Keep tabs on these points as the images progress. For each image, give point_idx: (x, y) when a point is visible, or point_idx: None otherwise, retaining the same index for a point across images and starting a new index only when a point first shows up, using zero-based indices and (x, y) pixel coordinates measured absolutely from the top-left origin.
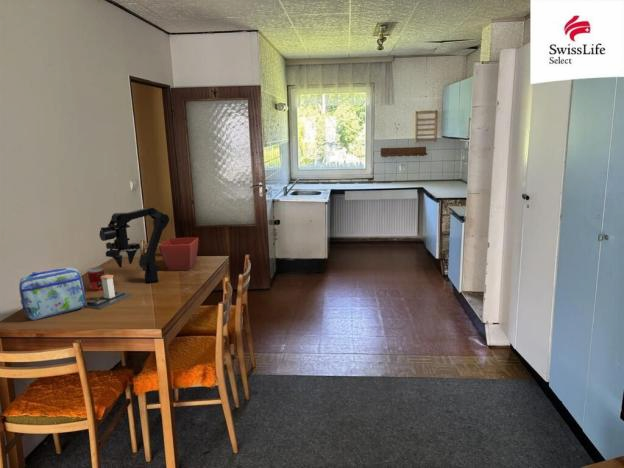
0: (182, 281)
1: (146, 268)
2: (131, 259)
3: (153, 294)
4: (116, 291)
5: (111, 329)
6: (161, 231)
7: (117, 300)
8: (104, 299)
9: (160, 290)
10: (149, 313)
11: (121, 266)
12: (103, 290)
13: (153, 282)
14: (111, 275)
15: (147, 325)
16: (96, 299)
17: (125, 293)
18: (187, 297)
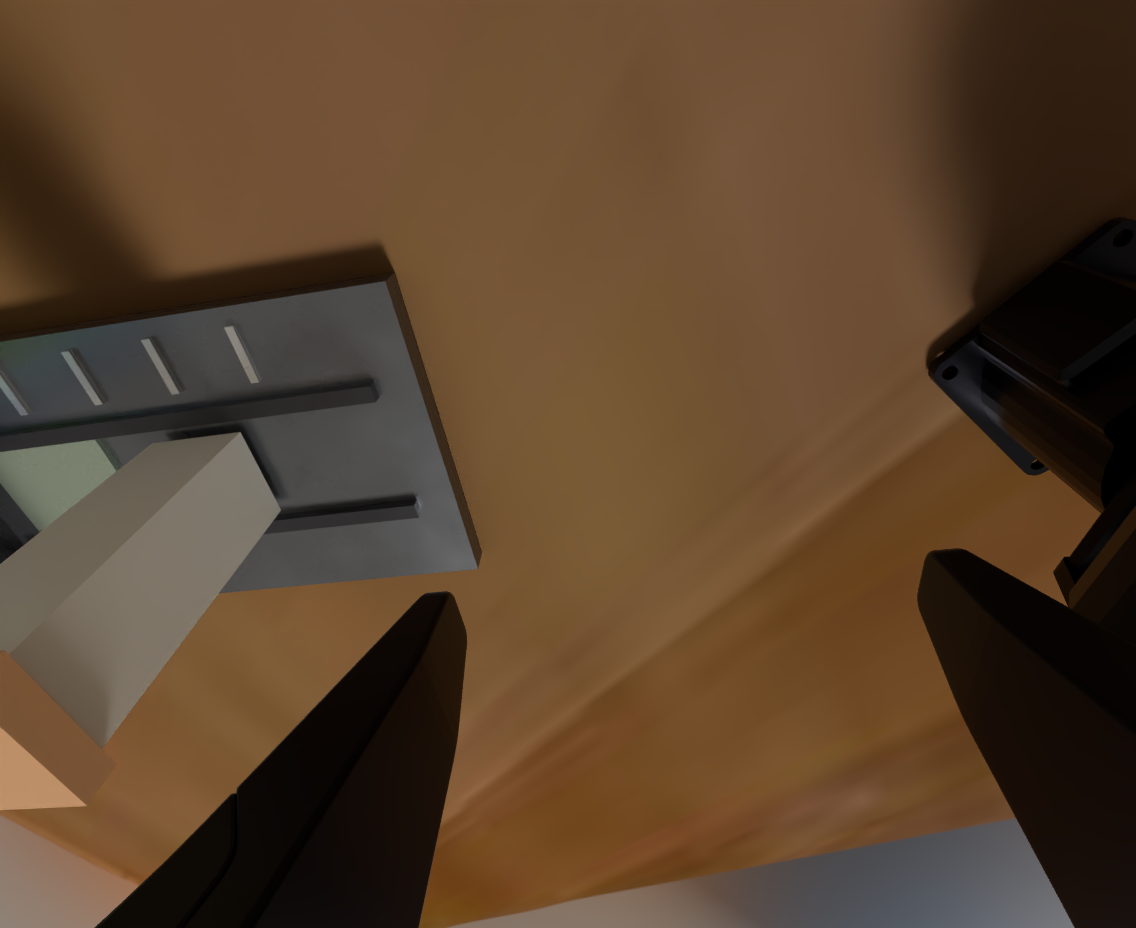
0: None
1: (1073, 609)
2: (1017, 809)
3: (614, 694)
4: (398, 331)
5: (77, 853)
6: None
7: (273, 581)
8: None
9: (736, 676)
10: None
11: (456, 673)
12: (72, 507)
13: (987, 434)
14: (51, 791)
15: None
16: (53, 367)
17: (432, 511)
18: (674, 879)
